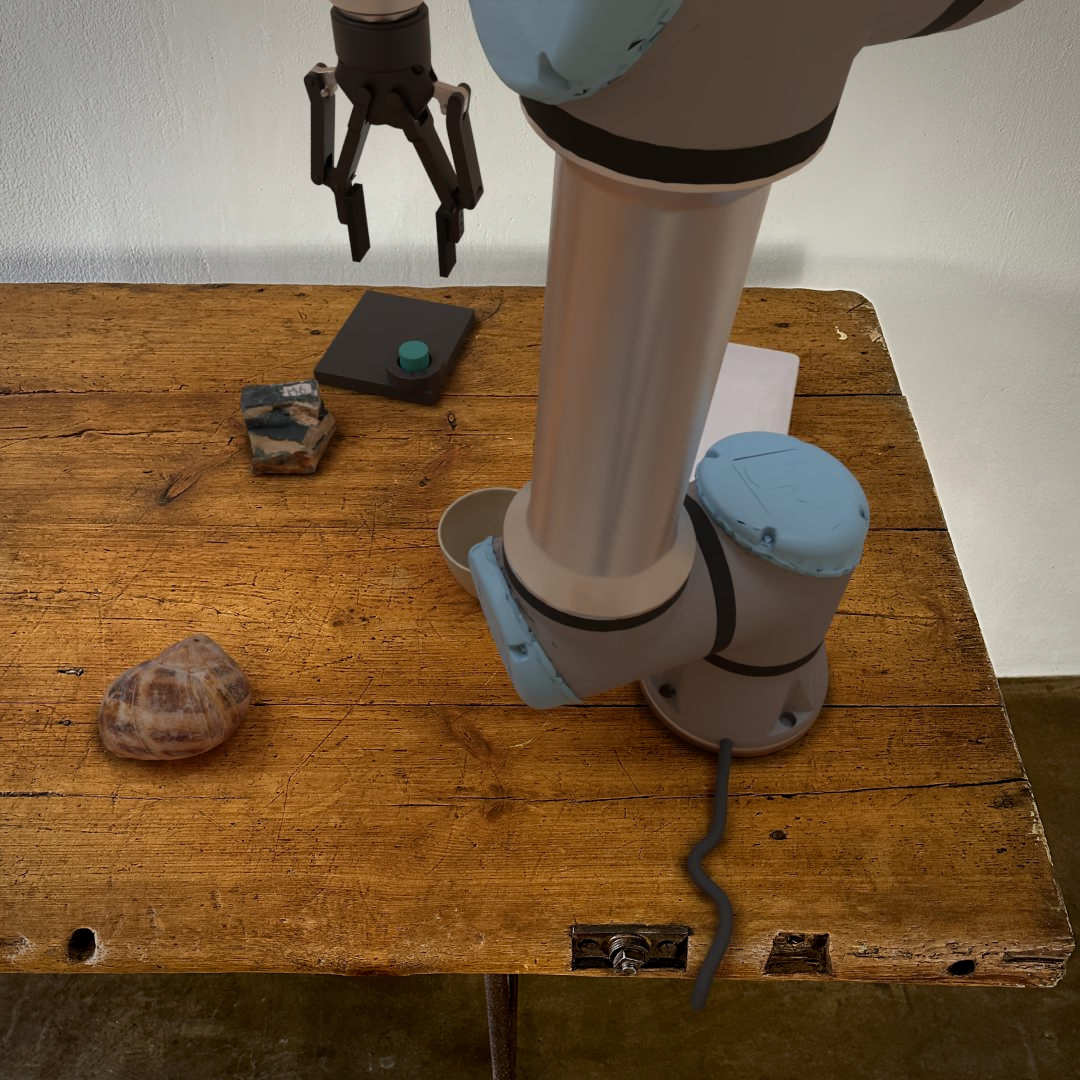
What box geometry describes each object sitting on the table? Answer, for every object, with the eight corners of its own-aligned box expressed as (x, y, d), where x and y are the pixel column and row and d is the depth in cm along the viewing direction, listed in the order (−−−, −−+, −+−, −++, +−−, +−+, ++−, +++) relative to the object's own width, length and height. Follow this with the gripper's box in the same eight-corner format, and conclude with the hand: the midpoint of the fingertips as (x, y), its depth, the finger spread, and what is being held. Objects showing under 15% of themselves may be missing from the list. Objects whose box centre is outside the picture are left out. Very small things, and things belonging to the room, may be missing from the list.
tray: (569, 559, 88) (571, 533, 85) (642, 349, 108) (645, 324, 105) (756, 602, 85) (764, 577, 82) (795, 379, 105) (802, 353, 102)
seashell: (186, 631, 81) (201, 601, 72) (258, 713, 81) (282, 692, 73) (74, 716, 75) (77, 694, 67) (153, 803, 76) (165, 792, 67)
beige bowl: (543, 638, 82) (545, 586, 77) (429, 617, 83) (423, 565, 78) (565, 550, 88) (568, 496, 83) (458, 532, 90) (455, 478, 84)
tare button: (423, 374, 99) (422, 361, 98) (396, 369, 100) (394, 355, 99) (433, 356, 101) (432, 343, 100) (406, 351, 102) (404, 338, 100)
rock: (251, 482, 93) (238, 439, 89) (250, 417, 99) (238, 374, 95) (341, 471, 94) (333, 428, 90) (336, 408, 100) (328, 365, 96)
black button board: (434, 409, 101) (432, 383, 98) (313, 385, 103) (308, 359, 100) (479, 322, 110) (478, 296, 108) (368, 301, 112) (364, 276, 110)
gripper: (523, 0, 75) (521, 258, 92) (274, -31, 78) (318, 223, 95) (494, 39, 70) (498, 303, 87) (231, 4, 73) (285, 265, 91)
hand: (404, 261), depth 91 cm, fingers open, 8 cm apart
